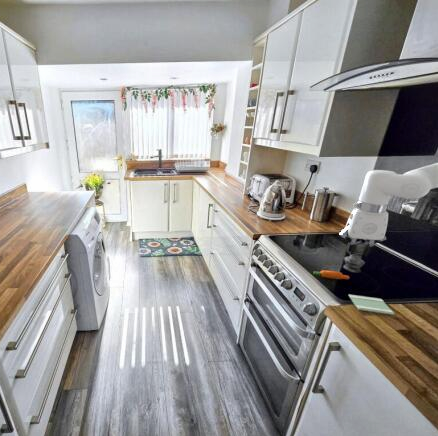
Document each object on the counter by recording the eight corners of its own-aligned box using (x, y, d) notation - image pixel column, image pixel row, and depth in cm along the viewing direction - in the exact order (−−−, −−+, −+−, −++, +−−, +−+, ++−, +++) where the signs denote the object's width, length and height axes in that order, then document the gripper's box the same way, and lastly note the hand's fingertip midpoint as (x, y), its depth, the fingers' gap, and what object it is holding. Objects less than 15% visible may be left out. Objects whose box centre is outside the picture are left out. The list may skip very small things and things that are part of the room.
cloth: (348, 295, 90) (348, 294, 90) (380, 299, 87) (381, 298, 87) (358, 309, 83) (358, 308, 83) (394, 315, 80) (395, 314, 80)
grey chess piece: (360, 274, 87) (370, 245, 83) (340, 268, 91) (348, 240, 87) (363, 268, 91) (373, 240, 86) (344, 262, 95) (352, 235, 90)
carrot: (346, 277, 100) (348, 271, 99) (350, 282, 97) (352, 275, 96) (312, 273, 104) (313, 267, 103) (314, 277, 101) (315, 271, 100)
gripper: (347, 208, 81) (334, 256, 88) (409, 212, 76) (390, 261, 83) (338, 202, 88) (326, 246, 94) (394, 205, 83) (378, 251, 89)
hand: (356, 253), depth 88 cm, fingers closed on grey chess piece, 3 cm apart
